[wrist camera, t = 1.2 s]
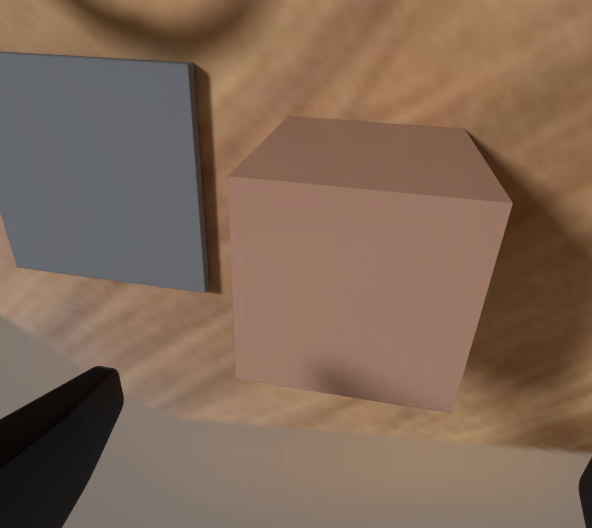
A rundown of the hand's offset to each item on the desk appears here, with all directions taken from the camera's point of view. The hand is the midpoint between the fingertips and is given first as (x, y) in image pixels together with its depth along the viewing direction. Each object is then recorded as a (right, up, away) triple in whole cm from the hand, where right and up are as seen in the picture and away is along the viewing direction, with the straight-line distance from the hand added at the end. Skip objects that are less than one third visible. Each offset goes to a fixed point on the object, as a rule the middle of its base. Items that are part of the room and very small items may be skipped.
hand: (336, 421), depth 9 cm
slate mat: (-10, +7, +12) cm, 17 cm away
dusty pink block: (+2, +5, +10) cm, 12 cm away
